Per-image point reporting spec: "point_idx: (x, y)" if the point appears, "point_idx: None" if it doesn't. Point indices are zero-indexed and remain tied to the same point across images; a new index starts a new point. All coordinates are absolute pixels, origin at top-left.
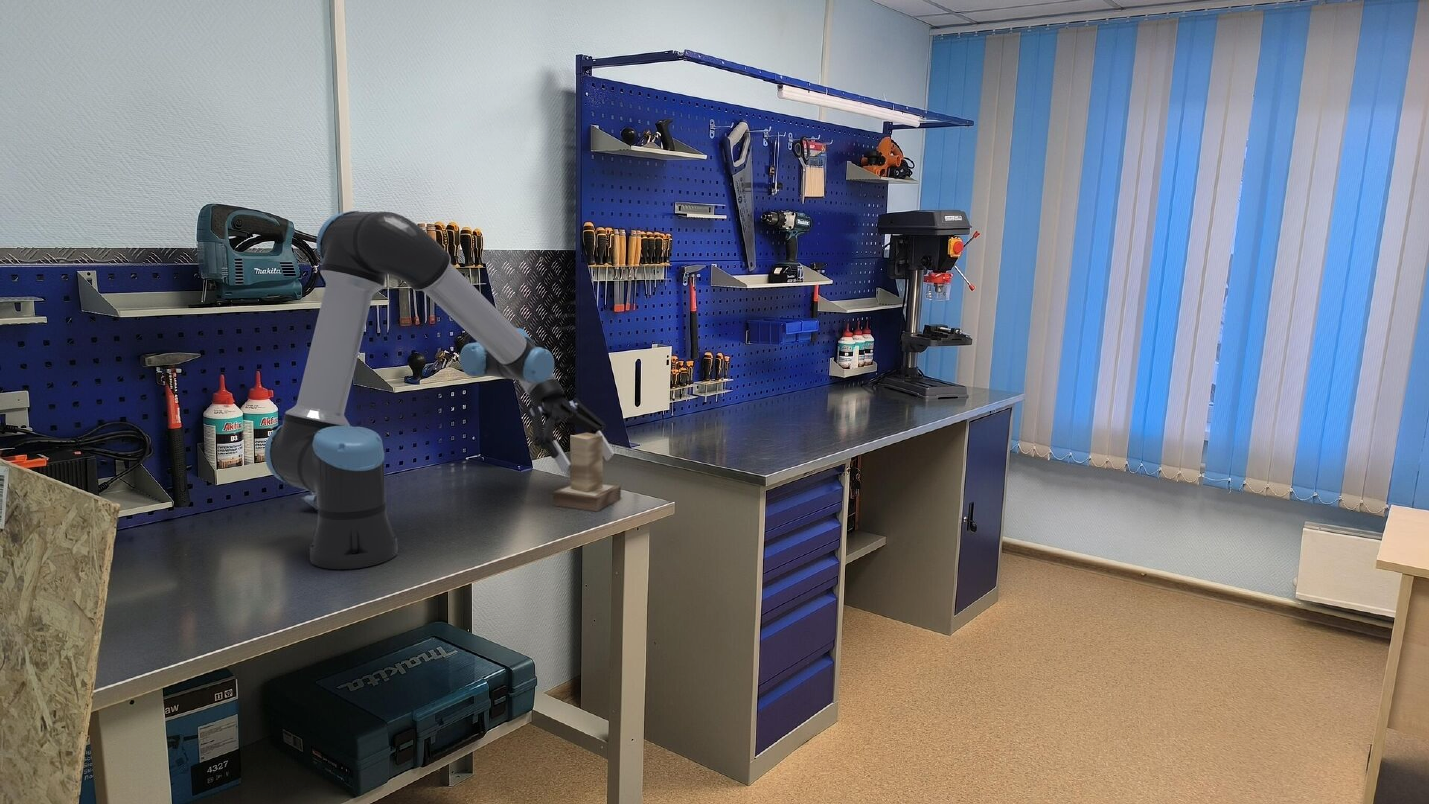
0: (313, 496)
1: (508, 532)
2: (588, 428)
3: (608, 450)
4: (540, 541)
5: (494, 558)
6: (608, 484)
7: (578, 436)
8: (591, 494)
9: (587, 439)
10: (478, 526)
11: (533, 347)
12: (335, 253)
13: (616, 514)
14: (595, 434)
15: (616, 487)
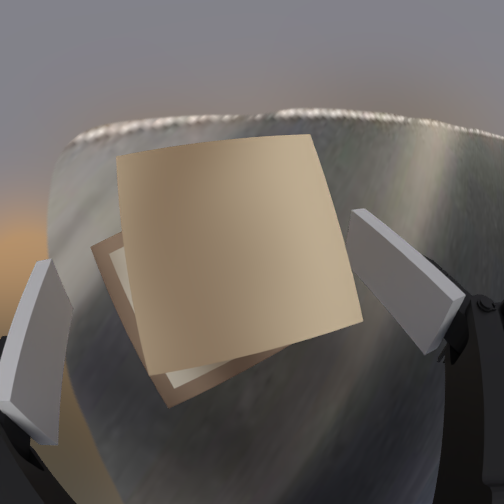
0: None
1: (442, 207)
2: (54, 490)
3: (48, 288)
4: (411, 133)
5: (464, 134)
6: (108, 291)
7: (315, 260)
8: None
9: (298, 136)
10: (467, 273)
11: None
12: None
13: None
14: (127, 237)
15: (112, 239)
